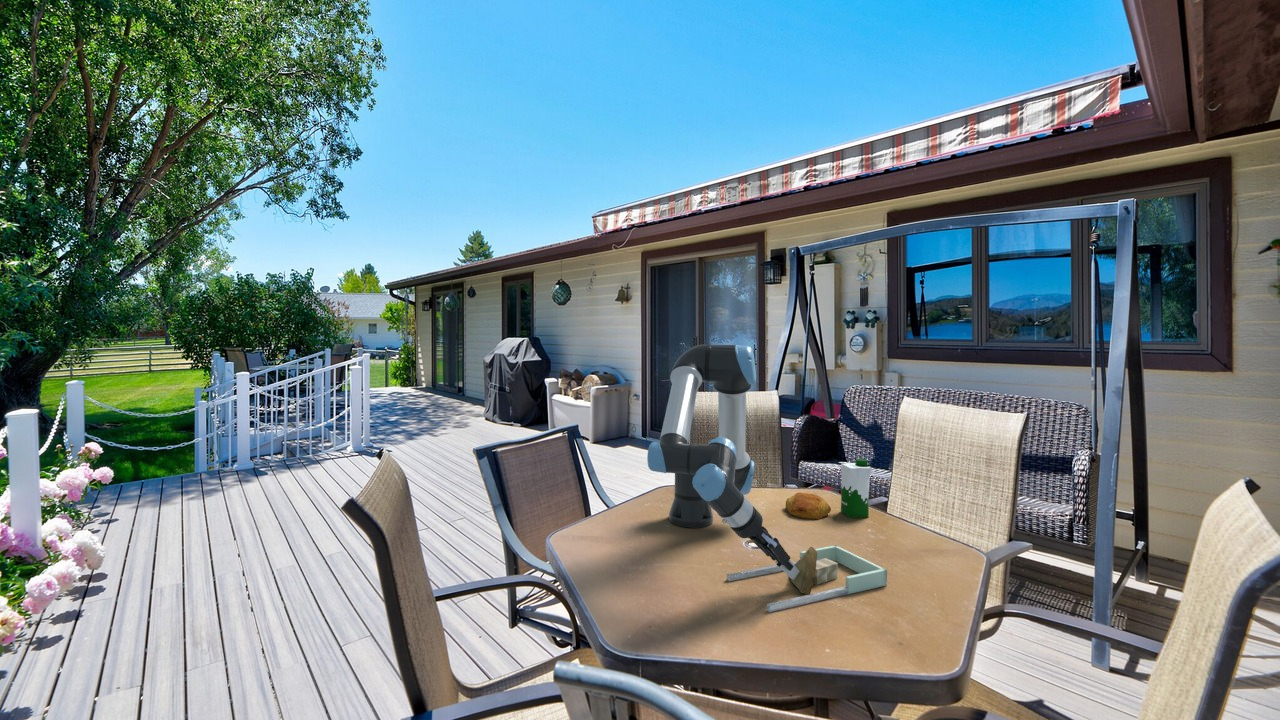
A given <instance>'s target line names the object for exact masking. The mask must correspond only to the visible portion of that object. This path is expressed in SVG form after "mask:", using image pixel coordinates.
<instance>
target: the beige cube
mask: <svg viewBox="0 0 1280 720" xmlns="http://www.w3.org/2000/svg"><path fill="white" fill-rule="evenodd" d="M817 562H819V563H821V564H824V565H826V566H828V571H827V582H830V581H833V580H835V579H836V580H837V579H838V568H839V567H838V565H839V562H837V561H831V560H829V559H826V558H824V559H820V560H817Z"/></svg>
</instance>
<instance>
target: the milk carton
mask: <svg viewBox="0 0 1280 720" xmlns="http://www.w3.org/2000/svg"><path fill="white" fill-rule="evenodd" d="M868 464H869V463H868V459H866V458H856V459H855V462H853V463H852V462H848V463H840V465H841V466H840V467H841V492H840V497H841V498H840V512H841V513H842V514H844V515H846V516H847V517H848V518H850V519H851V518H857V519H858V518H869V513H870V511H869V507H870V506H869V504H870V503H869V501H870V499H869V497H870V477H871V473H872V467H870V466H869V465H868Z"/></svg>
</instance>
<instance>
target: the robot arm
mask: <svg viewBox="0 0 1280 720" xmlns="http://www.w3.org/2000/svg"><path fill="white" fill-rule="evenodd" d="M755 361H756V360H755V354H754V350H753V348H752V347H751V346H748V345H742V344H741V345H740V344H698V345H695V346H693V347H691V348H689V349H688V350H686V351H684V352H683V353H682V354H681V355H680V356H679V357H678V358H677V360H676V361H675V363H674V364H673V366H672V368H671V373H670V377H669V378H670V382H671V384H672V385H671V388H670V393H669V395H668V396H669V397H668V402H667V405H666V410H665V415H664V418H663V423H662V427H661V434H660V436H659V441H652V442H651V443H650V444H649V446H648V449H647V467H648V469H649V470H650V471H651V472H656V473H662V474H663V473H664V474H667V473H668V474H674V494H673V495H674V497H673V501H672V503H671V507H670V509H669V513H668V521H669V522H670V523H671V524H673V525H675V526H678V527H681V528H688V529H689V528H690V529H691V528H692V529H694V528H695V529H696V528H698V529H699V528H705V527H708V526H711V525H712V524H713V522H714V513H713V511H712V509H713V510H714V511H715V512H716V513H717V515H718V516H719V517H721V519H722V521H721V522H722V523H723V524H727V525H728V526H729V527H730V529H731V530H733V532H734V533H735V534H736V536H738V537H739V538H741V539H750V541H751V542H752V543H754V545H756V546H757V548H758V549H760V551H761V552H763V553H764V554H765V556H766V557H770V559H771V560H772V561H775V563H776V565H777V566H778V567H780V568H781V569H782V570H783V571H782V572H784V573H785V574H786V575H787V576H788V577H789V579H790V578H792V579H793V580H794V579H795V577H796V576H797V574H798V573H799V572H800V571H799V570H798V569H797V567H796V566H795V565H794V564H793V563H792V562H793V561H792V560H790V559H791V557H790V555H789V553H788V552H787V551H786V549H784V547H783V546H782V545H781V544H780V541H779V540H778V538H777V537H773V536H772V535H771V534H770V533H769V531H768V530H767V528H766V527H765V526H763V516H762V514H761V513H760V512H759V511H758V510H757V508H756V507H755V506H754V505H753V504H752V503H751V502H750V500H749V499H748V498H747V497H746V496H747V495H749V494H750V493H751V490H752V486H753V479H754V471H755V461H754V460H752V459H751V458H750V455H749V453H748V452H747V451H746V441H747V440H746V432H747V431H746V428H747V426H746V425H747V423H746V421H747V419H746V418H747V416H746V415H747V413H746V412H747V393H748V392H749V391H751V388H752V385H755V384H756V382H757V372H756V362H755ZM702 383H713V385H712V387H713V389H714V391H716V392H717V393H718V394H717V395H718V397H717V398H718V401H717V403H718V436H717V437H714V438H712V439H710V440H709V442H708V444H693V443H691V444H689V441H690V436H691V430H692V424H693V418H694V412H695V405H696V399H697V393H698V389H699V388H700V387H701V385H702ZM745 495H746V496H745Z"/></svg>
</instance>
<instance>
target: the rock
mask: <svg viewBox="0 0 1280 720" xmlns="http://www.w3.org/2000/svg"><path fill="white" fill-rule="evenodd" d="M815 549H816V548H814V547H812V546H810V547H809V548H808V549H807V550H805V551H806V552H805V553H804V554H803V556H802V557H801V558H800V557H799V559H798V560H797V563H796V564H795V566H796V567H797V569H798V570H799V571H800V572H799V573H798V574H797V576H796V577H795V579H794V580H793V579H792V578H790V577H789V580H790V581H791V583H793V585H795V587H796V589H799V592H800V593H802V594H805V595H810V594H812V593H811V592H812V589H813V586H814V583H813V582H814V577H815V571H816V561H817V551H816V550H815Z"/></svg>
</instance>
